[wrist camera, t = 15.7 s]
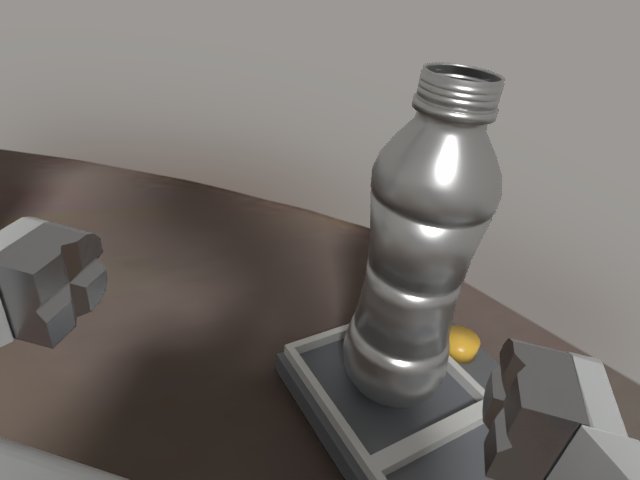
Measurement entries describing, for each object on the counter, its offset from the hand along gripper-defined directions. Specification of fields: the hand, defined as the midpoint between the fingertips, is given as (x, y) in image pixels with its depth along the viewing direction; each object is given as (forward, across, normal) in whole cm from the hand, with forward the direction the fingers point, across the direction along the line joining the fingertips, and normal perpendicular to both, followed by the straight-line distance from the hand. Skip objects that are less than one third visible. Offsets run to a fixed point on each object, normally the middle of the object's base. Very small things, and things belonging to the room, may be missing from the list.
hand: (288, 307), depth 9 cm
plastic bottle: (+16, -3, +19) cm, 25 cm away
